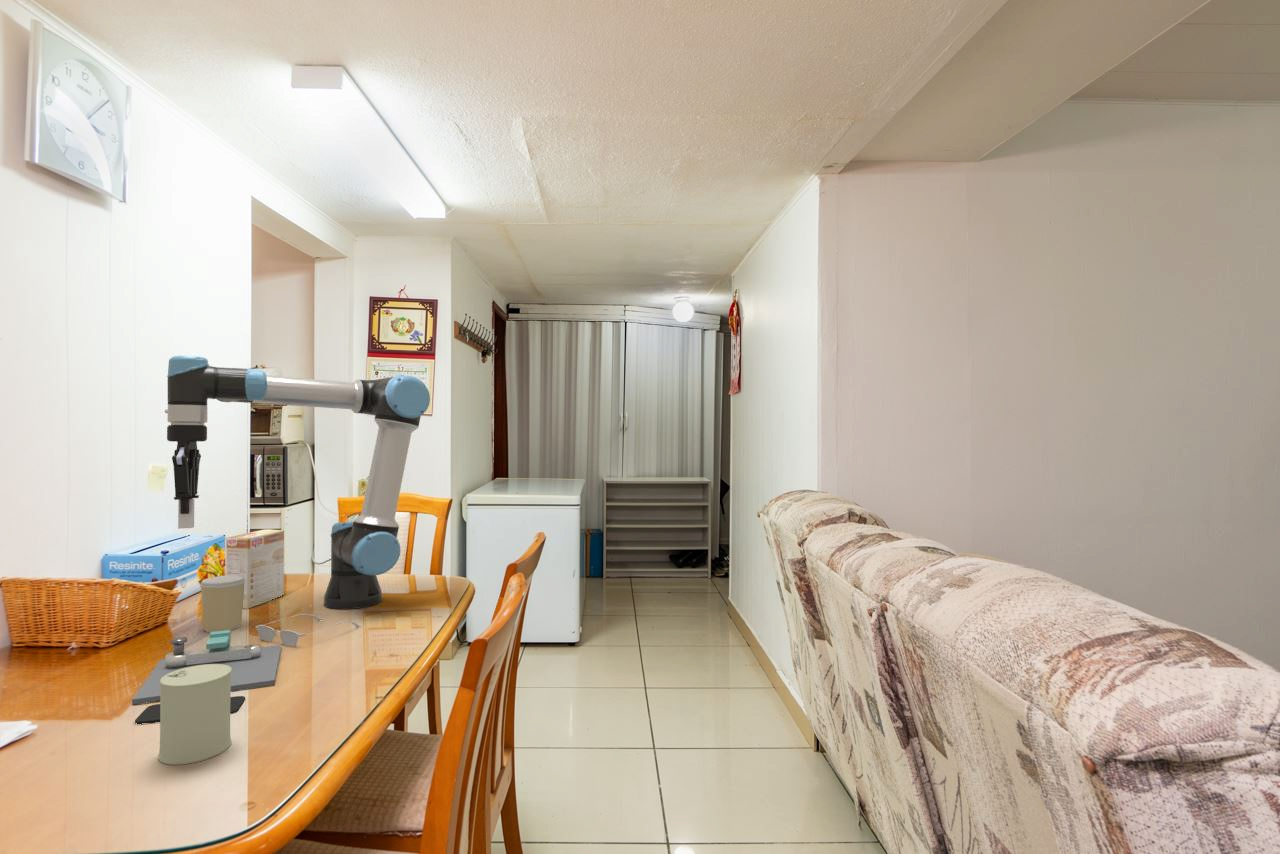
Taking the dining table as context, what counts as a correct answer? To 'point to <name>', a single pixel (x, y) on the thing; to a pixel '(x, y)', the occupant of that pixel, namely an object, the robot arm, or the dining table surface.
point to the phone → (153, 711)
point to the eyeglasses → (287, 632)
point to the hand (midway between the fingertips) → (186, 527)
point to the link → (208, 654)
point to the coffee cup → (222, 602)
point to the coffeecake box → (257, 564)
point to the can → (194, 713)
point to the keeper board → (243, 670)
